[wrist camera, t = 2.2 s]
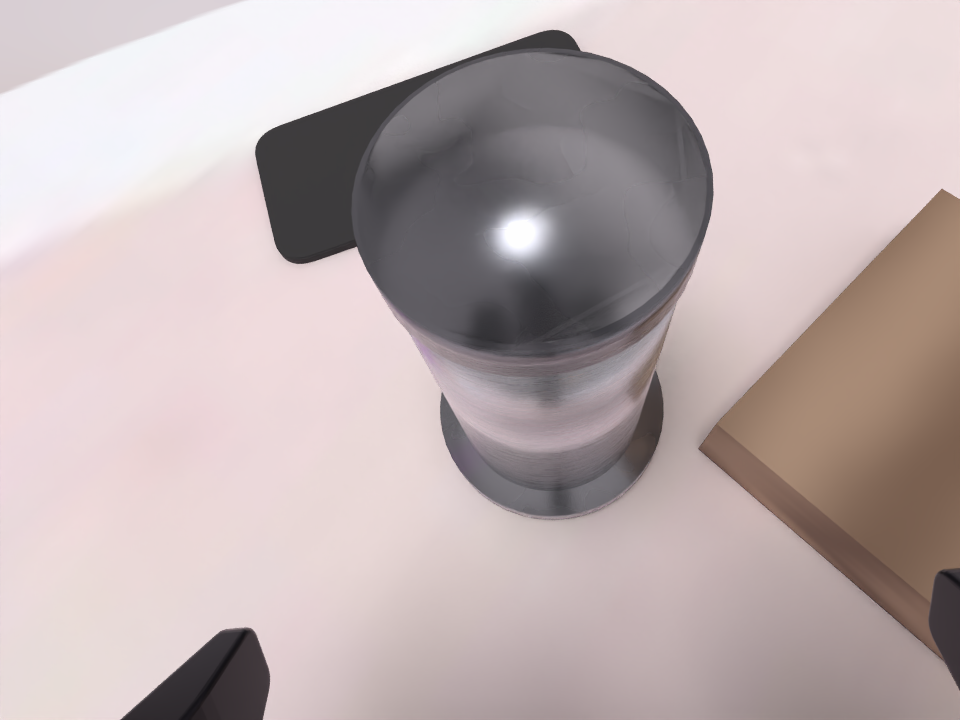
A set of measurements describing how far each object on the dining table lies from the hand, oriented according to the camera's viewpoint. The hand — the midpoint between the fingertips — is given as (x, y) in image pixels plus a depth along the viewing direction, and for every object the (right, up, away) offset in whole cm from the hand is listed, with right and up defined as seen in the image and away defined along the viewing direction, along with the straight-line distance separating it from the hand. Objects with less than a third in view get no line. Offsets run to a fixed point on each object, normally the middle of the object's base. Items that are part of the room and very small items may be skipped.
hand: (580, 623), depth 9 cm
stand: (+14, +1, +12) cm, 18 cm away
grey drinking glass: (+1, +2, +15) cm, 15 cm away
